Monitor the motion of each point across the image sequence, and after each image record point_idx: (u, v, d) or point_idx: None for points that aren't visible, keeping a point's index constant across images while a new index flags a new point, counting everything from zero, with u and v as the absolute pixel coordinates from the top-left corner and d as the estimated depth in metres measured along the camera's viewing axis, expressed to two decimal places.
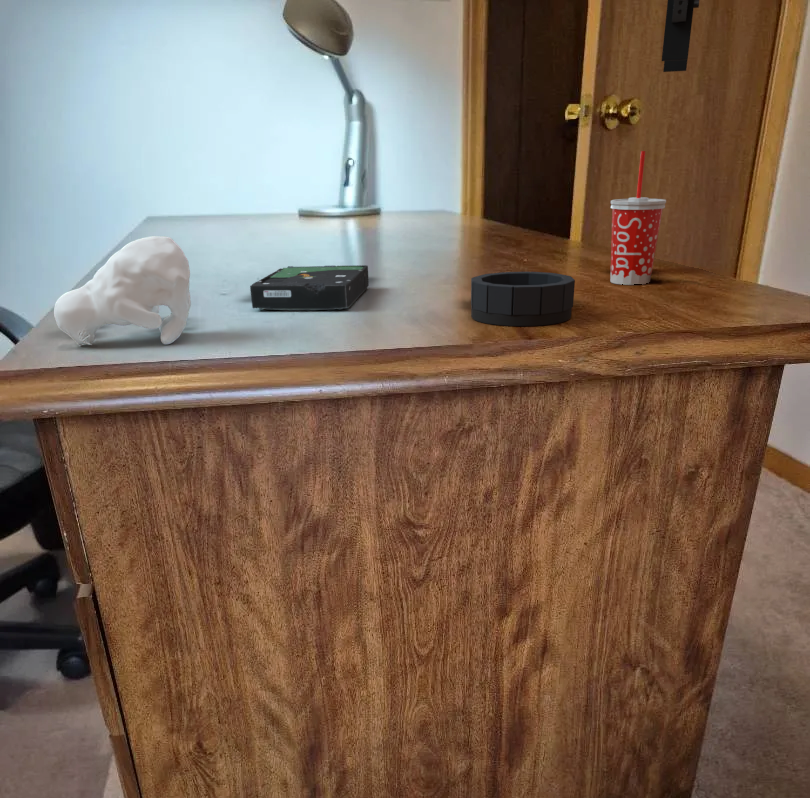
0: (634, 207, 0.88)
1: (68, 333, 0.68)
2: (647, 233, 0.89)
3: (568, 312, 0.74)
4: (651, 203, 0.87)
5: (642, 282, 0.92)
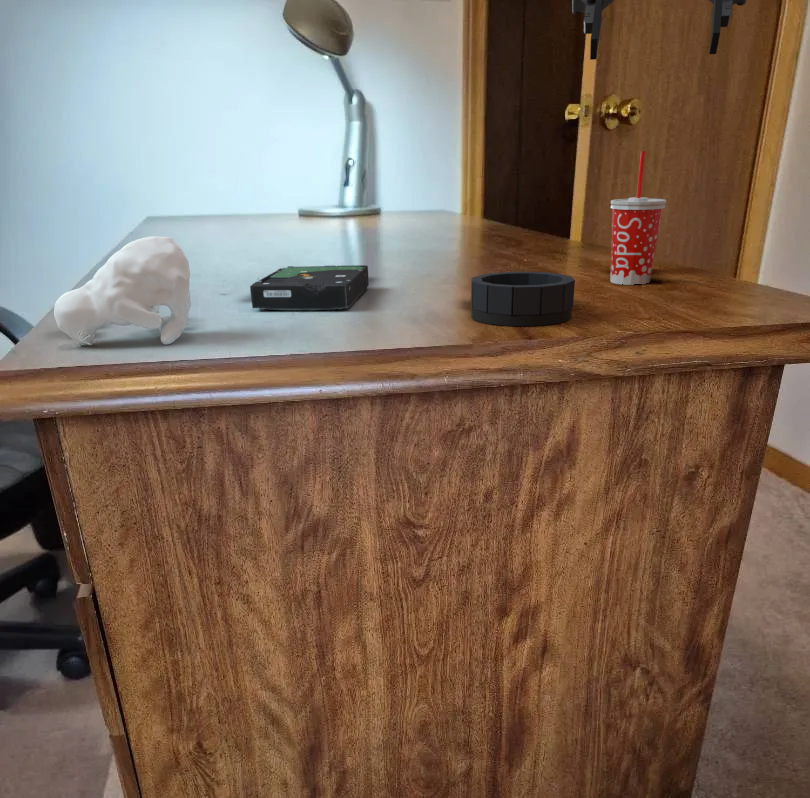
0: (634, 207, 0.88)
1: (68, 333, 0.68)
2: (647, 233, 0.89)
3: (568, 312, 0.74)
4: (651, 203, 0.87)
5: (642, 282, 0.92)
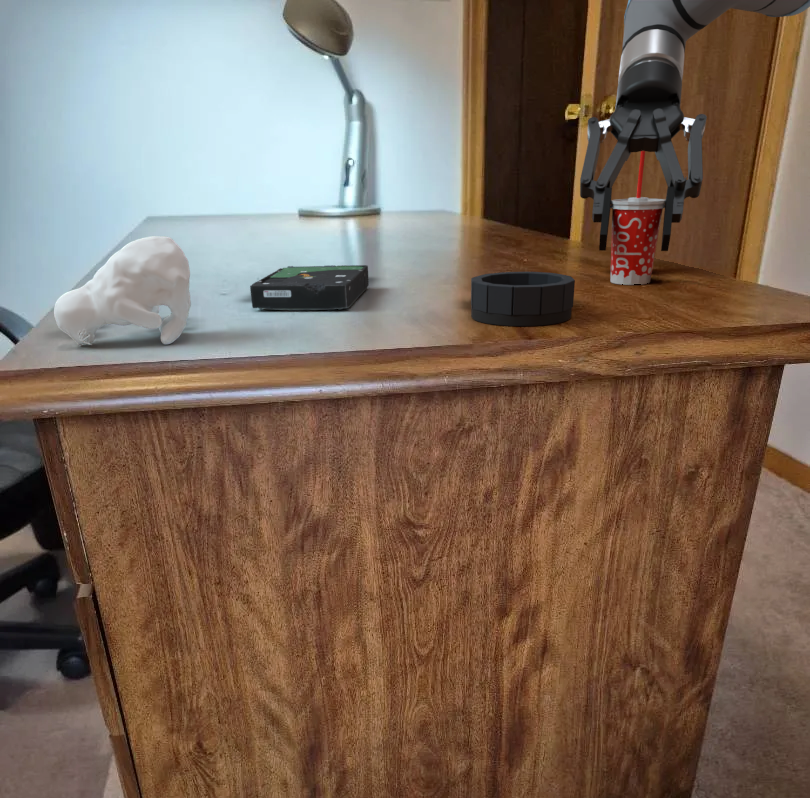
0: (634, 207, 0.88)
1: (68, 333, 0.68)
2: (647, 233, 0.89)
3: (568, 312, 0.74)
4: (651, 203, 0.87)
5: (642, 282, 0.92)
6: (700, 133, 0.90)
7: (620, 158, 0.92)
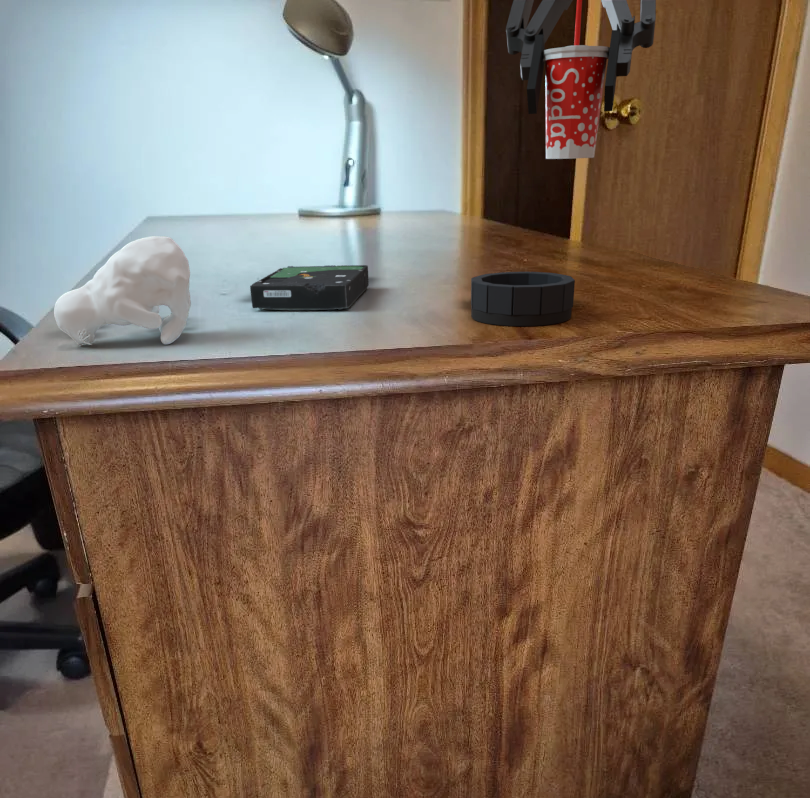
0: (569, 53, 0.70)
1: (68, 333, 0.68)
2: (587, 90, 0.72)
3: (568, 312, 0.74)
4: (590, 48, 0.70)
5: (583, 155, 0.74)
6: None
7: (556, 1, 0.74)
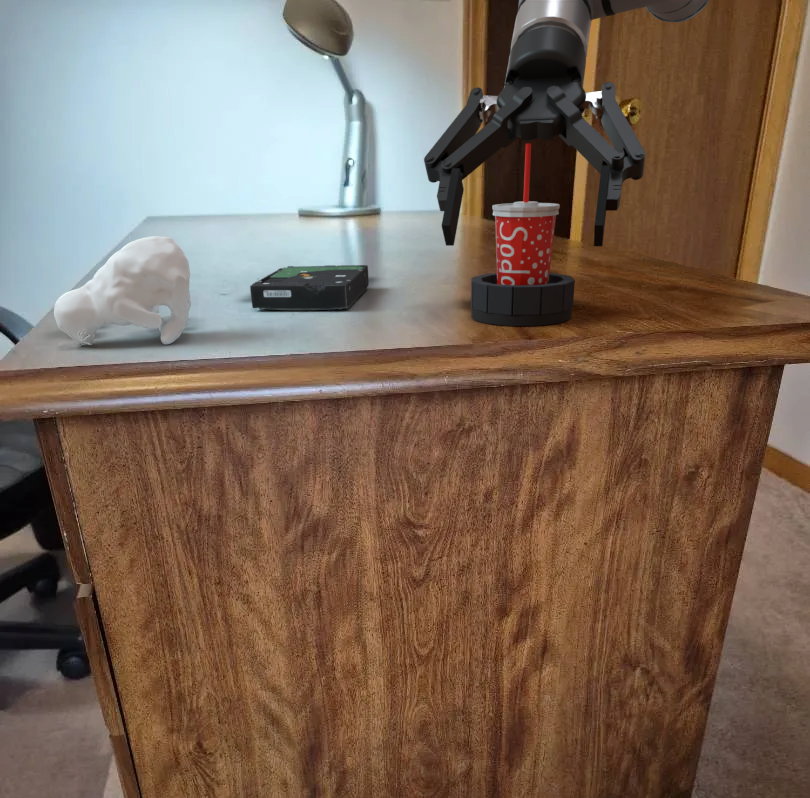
0: (518, 213, 0.70)
1: (68, 333, 0.68)
2: (536, 247, 0.71)
3: (568, 312, 0.74)
4: (538, 209, 0.70)
5: None
6: (616, 103, 0.72)
7: (486, 141, 0.74)
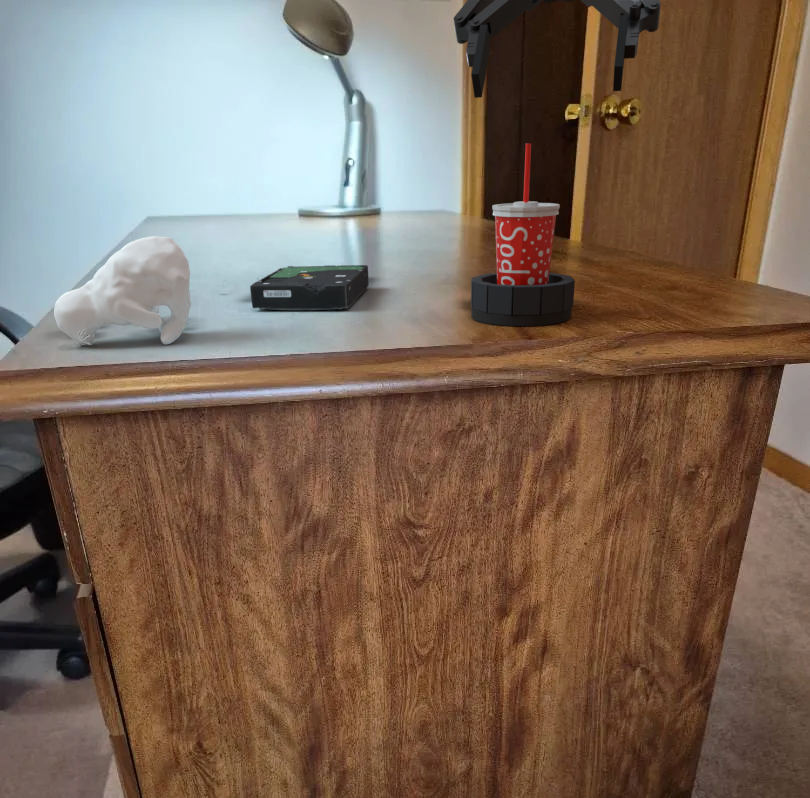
0: (518, 213, 0.70)
1: (68, 333, 0.68)
2: (536, 247, 0.71)
3: (568, 312, 0.74)
4: (538, 209, 0.70)
5: None
6: None
7: (511, 0, 0.80)
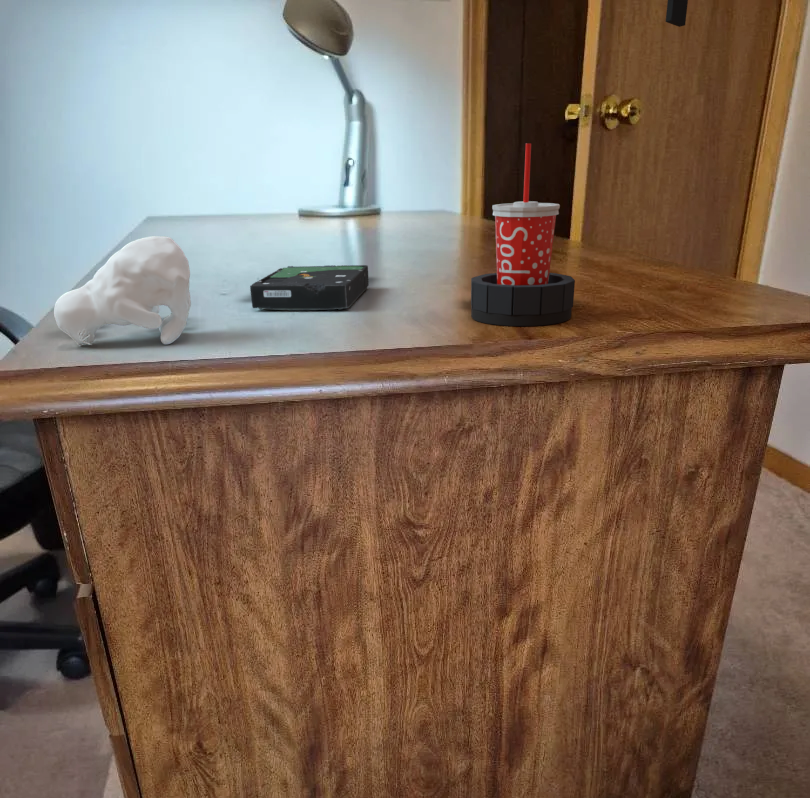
0: (518, 213, 0.70)
1: (68, 333, 0.68)
2: (536, 247, 0.71)
3: (568, 312, 0.74)
4: (538, 209, 0.70)
5: None
6: None
7: None
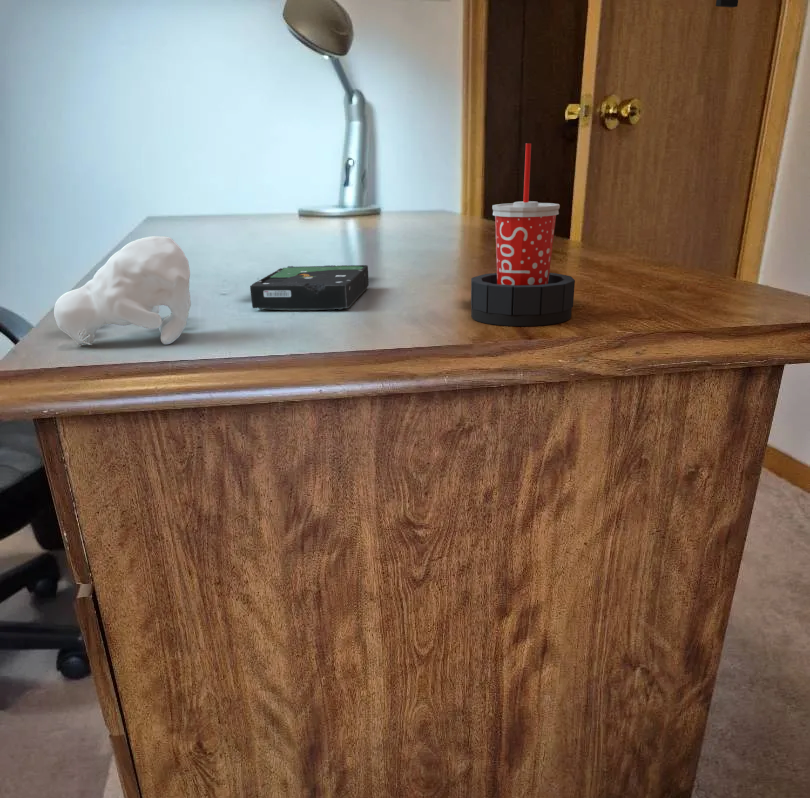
0: (518, 213, 0.70)
1: (68, 333, 0.68)
2: (536, 247, 0.71)
3: (568, 312, 0.74)
4: (538, 209, 0.70)
5: None
6: None
7: None
